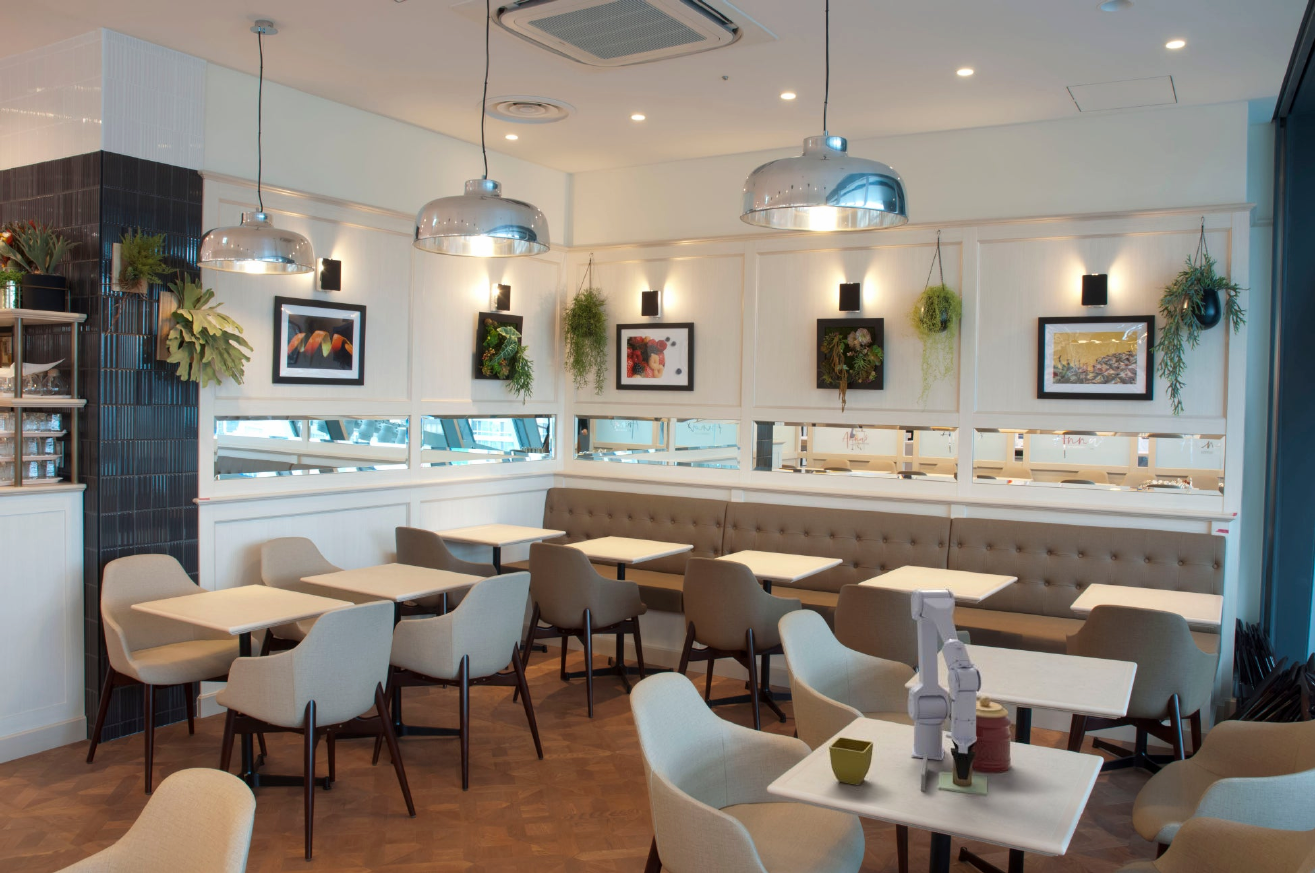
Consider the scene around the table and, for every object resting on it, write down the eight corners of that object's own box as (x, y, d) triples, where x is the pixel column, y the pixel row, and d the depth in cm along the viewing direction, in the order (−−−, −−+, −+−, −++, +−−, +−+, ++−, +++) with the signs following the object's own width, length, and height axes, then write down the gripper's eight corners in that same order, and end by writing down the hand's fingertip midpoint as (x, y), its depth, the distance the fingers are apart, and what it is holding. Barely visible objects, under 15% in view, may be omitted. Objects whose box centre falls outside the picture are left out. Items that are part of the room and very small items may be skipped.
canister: (947, 763, 248) (948, 695, 248) (974, 752, 256) (975, 686, 256) (994, 777, 238) (995, 706, 238) (1020, 765, 247) (1021, 697, 247)
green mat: (939, 773, 241) (939, 771, 241) (986, 778, 237) (986, 776, 237) (938, 789, 230) (938, 787, 230) (986, 795, 227) (987, 792, 227)
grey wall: (924, 768, 244) (924, 752, 244) (927, 768, 244) (927, 752, 244) (920, 790, 229) (921, 774, 229) (924, 791, 229) (924, 774, 229)
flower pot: (827, 783, 233) (828, 746, 233) (838, 771, 241) (839, 736, 241) (863, 789, 229) (864, 752, 229) (873, 778, 237) (873, 741, 237)
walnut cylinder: (952, 778, 236) (953, 754, 235) (971, 781, 234) (972, 756, 234) (952, 785, 231) (952, 760, 231) (971, 787, 230) (972, 762, 230)
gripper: (947, 707, 241) (946, 761, 241) (945, 724, 227) (944, 781, 227) (976, 710, 238) (976, 764, 239) (977, 727, 225) (976, 785, 225)
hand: (962, 773), depth 233 cm, fingers open, 7 cm apart
